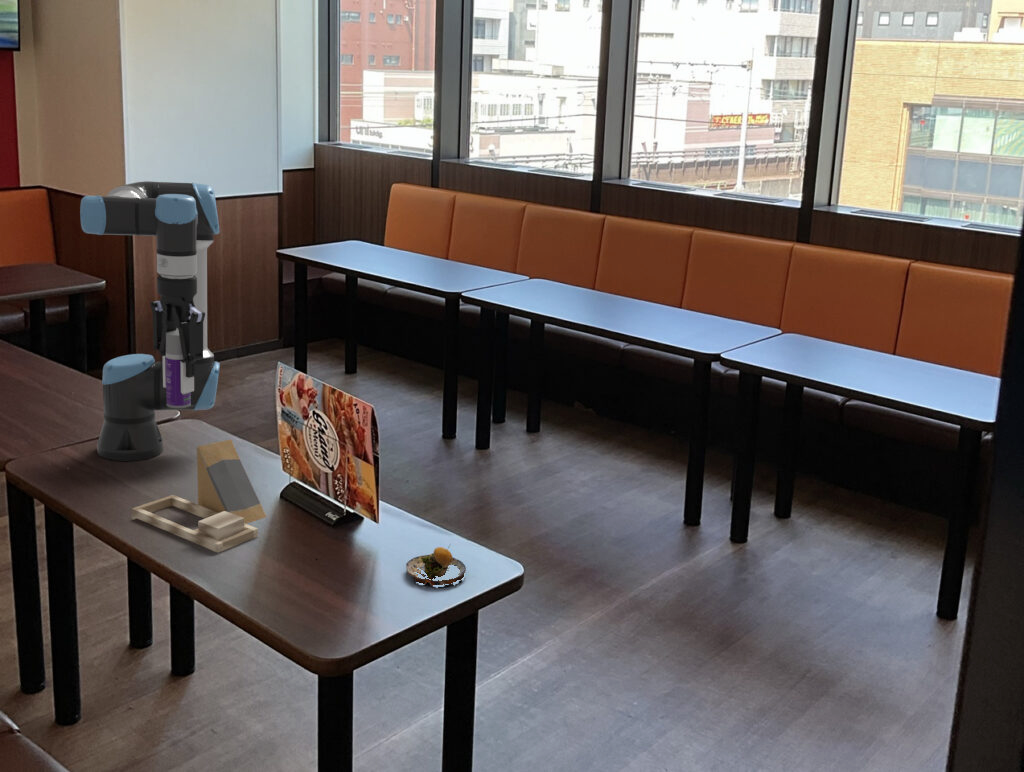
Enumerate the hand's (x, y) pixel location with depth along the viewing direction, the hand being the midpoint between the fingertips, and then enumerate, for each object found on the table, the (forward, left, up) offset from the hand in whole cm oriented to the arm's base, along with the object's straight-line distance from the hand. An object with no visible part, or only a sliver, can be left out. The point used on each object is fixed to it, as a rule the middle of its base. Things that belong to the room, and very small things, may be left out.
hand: (178, 388), depth 217 cm
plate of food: (+55, +16, -29) cm, 64 cm away
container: (0, 0, -4) cm, 4 cm away
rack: (+7, -2, -29) cm, 29 cm away
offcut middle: (+15, -2, -27) cm, 31 cm away
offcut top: (+15, -2, -25) cm, 30 cm away
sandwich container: (+7, +8, -29) cm, 31 cm away
